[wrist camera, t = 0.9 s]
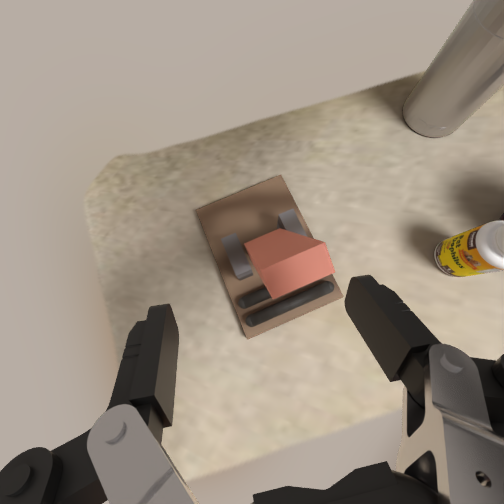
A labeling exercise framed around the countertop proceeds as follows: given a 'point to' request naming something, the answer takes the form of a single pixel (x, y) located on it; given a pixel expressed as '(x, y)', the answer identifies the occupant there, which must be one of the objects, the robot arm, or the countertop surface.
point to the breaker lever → (288, 260)
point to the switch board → (240, 265)
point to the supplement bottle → (473, 251)
